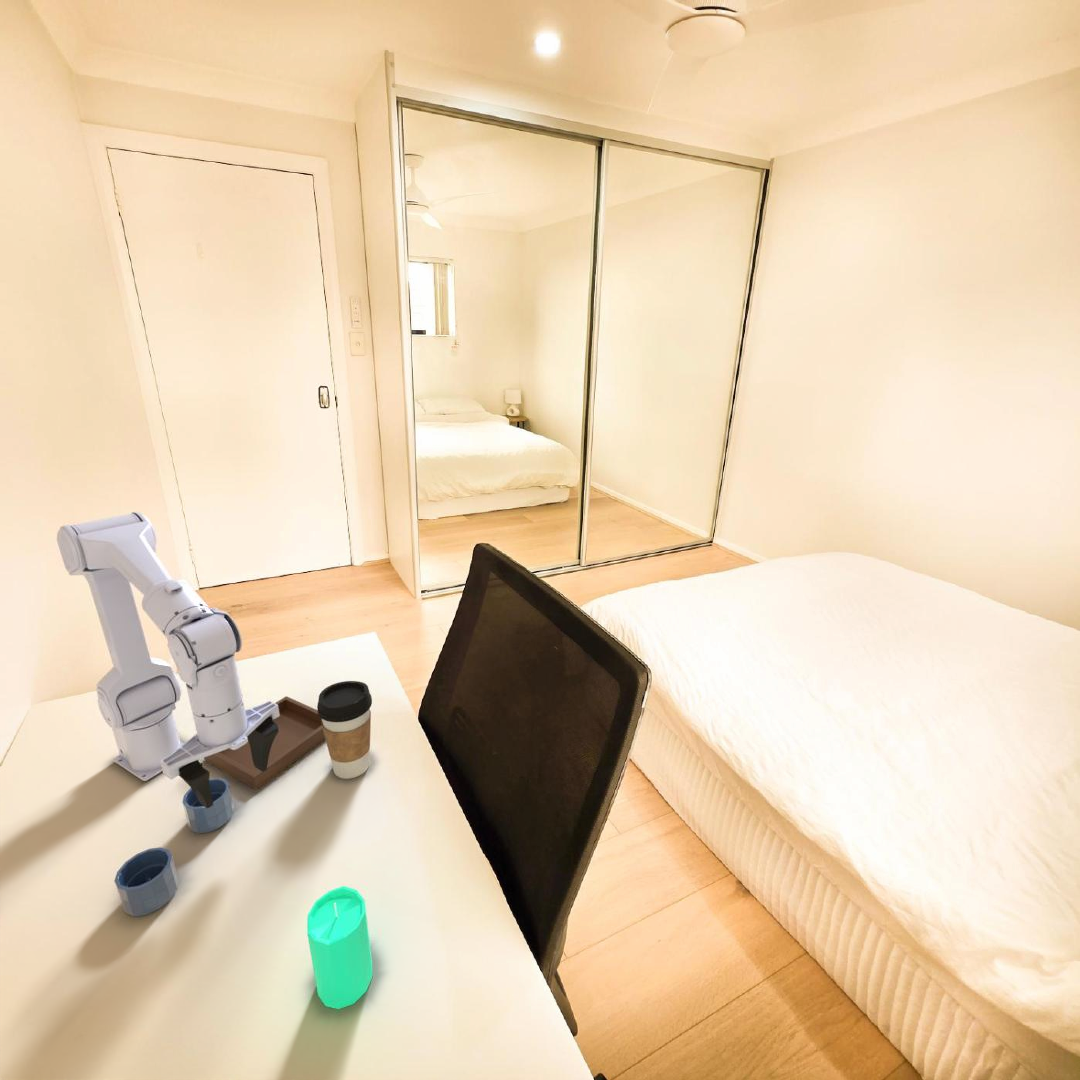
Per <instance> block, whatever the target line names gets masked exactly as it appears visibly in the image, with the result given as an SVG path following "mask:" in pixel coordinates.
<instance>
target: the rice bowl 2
mask: <svg viewBox="0 0 1080 1080" xmlns="http://www.w3.org/2000/svg"><path fill="white" fill-rule="evenodd" d="M209 787H210V792H211V795H212V799H213V806H211V807H210V808H206V807H205V806H203V805H202V804H201V803H200V802H199V799H198V798H197V796H196V794H195V793H194V791H193V790H192V788H191V787H190V788H189V789H188V790H187V791H186V793H184V795H183V799H182V801H181V802H182V806H183V809H184V810H183V811H184V814H185V818H186V823H187V825H188V828H189V829H190V831H191V832H195V833H197V834H206V833H210V832H213V831H216V830H218V829H219V828H222V826H225V824H226V823H227V822H228V821H229V820H230V819H231V817H232V815H233V814H234V810H235V806H234V801H233V796H232V791H231V786H230V783H229V782H228V781H227V779H225V778H221V777H212V778H209Z"/></svg>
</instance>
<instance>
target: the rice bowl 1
mask: <svg viewBox="0 0 1080 1080" xmlns="http://www.w3.org/2000/svg"><path fill="white" fill-rule="evenodd" d="M179 883H180V880H179V876H178V872H177V868H176V864H175V860H174V858H173V855H172V853H171V851H170V850H169V849H167V848H165V847H162V846H161V847H160V846H159V847H153V848H147V849H145V850H143V851H140V852H138V853H135V855H133V856H131V857H130V858H129V859H127V860H126V861H125V862H124V863H123V865H122V866H121V867H120V868H119V869H118V870H117V871H116V874H115V878H114V884H115V888H116V890H117V893H118V897H119V899H120V902H121V905H122V908H123V911H124V913H125V914H127V915H128V916H132V917H140V916H141V917H142V916H146V915H149V914H152V913H154V912H156V911H159V909H162V907H164V906H165V905H166V904H168V902H169V901H170V900H171V899H172V898H173V896H174V894H175V893H176V892H177V890H178V888H179Z"/></svg>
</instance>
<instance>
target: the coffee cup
mask: <svg viewBox="0 0 1080 1080" xmlns="http://www.w3.org/2000/svg"><path fill="white" fill-rule="evenodd" d="M372 704H373V698H372V694H371V692H370V689H369V685H368V684H366V682H362V681H358V680H345V681H339V682H335V683H333V684H331V685H329V686H326V687H325V688H323V690H322V691H321V692H320V693H319V695H318V702H317V704H316V705H317V706H316V710H318V715H319V716H320V717H321V718H322V721H321V723H322V727H323V731H324V735H325V739H324V740H325V743H326V747H327V750H328V754H329V757H330V761H331V766H332V770H333V773H334V775H335V776H336V777H337V778H340V779H345V780H349V779H354V778H357V777H360V776H361V775H363V774H364V773H365V772H366V771H367V770H369V767H370V765H371V727H372V726H371V725H372V724H371V723H372V722H371V721H372V711H371V707H372Z"/></svg>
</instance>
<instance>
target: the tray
mask: <svg viewBox="0 0 1080 1080" xmlns="http://www.w3.org/2000/svg"><path fill="white" fill-rule="evenodd" d="M274 703H275V704H277V705H278V708H279V714H280V716H279V717H277V718H275V719H272V720H273V722H275V723H277V724H278V729H279V732H278V733H277V735H276V737H275V739H274V741H273V743H272V746H271V749H270V754H269V759H268V765H267V770H266V771H264V772H262V771H260V770H259V769H257V768H256V767H255V766H254V763H253V760H252V754H251V748H250V744H249V741H248V742H247V743H246V744H245V745H243V746H241V747H240V748H238V749H236V750H232V749H230V748H228V749H226V750H223V751H220V752H218V753H215V754H212V755H209V756H207V757H204V758H203V759H204V761H206V762H207V763H209V764H211V765H213V766H214V767H216V768H218V769H219V770H220V771H222V772H224V773H226V774H227V775H230V776H231V777H233V778H234V779H236V780H238V781H240V782H242V783H243V784H245V785H246V786H248V787H250V788H252V789H253V790H255V791H258V790H259V789H260V788H262V787H263V786H264V785H266V784H267V783H268V782H269V781H271V780H272V779H273V778H275V777H276V776H277V775H279V774H281V772H283V771H284V770H286V769H287V768H288V767H290V766H291V765H293V764H294V763H295V762H297V761H298V760H299V759H300V758H302V757H303V756H305V755H306V754H307V753H309V752H310V751H311V750H313V749H314V748H315V747H316V746H318V745H319V744H321V743H322V742H323V741H324V740H326V739H325V735H324V731H323V727H322V723H321V721H322V718H321V717H320V716H319V715H318V709H317V708H314V707H311V706H309V705H307V704H306V703H305V704H304V703H302V702H300V701H299V700H296V699H293V698H291V697H289V696H287V695H286V696H283V698H281V699H279V700H277V701H276V702H274ZM247 739H248V738H247Z"/></svg>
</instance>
